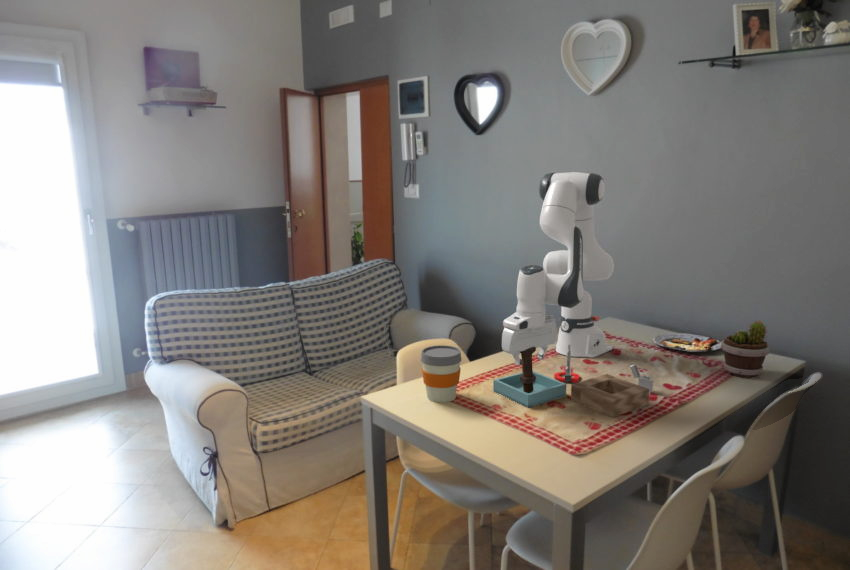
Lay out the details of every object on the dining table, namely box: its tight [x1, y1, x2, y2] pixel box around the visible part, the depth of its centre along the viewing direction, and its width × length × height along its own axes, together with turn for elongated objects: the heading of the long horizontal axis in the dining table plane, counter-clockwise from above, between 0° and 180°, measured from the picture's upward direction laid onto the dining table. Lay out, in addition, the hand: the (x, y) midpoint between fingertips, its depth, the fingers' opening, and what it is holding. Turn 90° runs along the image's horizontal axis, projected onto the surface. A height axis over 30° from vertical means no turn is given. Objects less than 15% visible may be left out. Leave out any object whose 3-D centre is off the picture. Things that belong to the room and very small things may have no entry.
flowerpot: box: [720, 318, 771, 379], centre depth 205 cm, size 14×15×20 cm
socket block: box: [570, 373, 650, 418], centre depth 184 cm, size 16×16×5 cm
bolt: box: [520, 347, 537, 393], centre depth 189 cm, size 6×5×15 cm
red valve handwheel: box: [553, 345, 581, 384], centre depth 204 cm, size 8×13×9 cm
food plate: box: [652, 332, 722, 353], centre depth 238 cm, size 25×23×4 cm
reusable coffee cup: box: [420, 344, 462, 403], centre depth 189 cm, size 13×13×15 cm
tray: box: [492, 370, 567, 409], centre depth 191 cm, size 16×16×4 cm
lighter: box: [629, 363, 654, 394], centre depth 193 cm, size 7×2×8 cm, turn 48°
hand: (529, 361), depth 189 cm, fingers open, 8 cm apart
